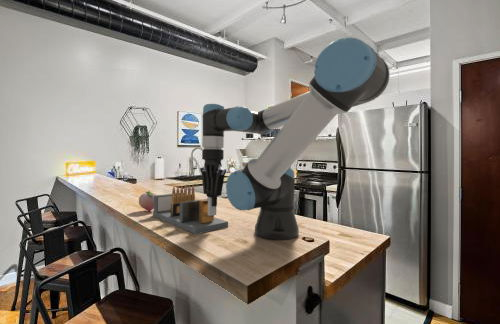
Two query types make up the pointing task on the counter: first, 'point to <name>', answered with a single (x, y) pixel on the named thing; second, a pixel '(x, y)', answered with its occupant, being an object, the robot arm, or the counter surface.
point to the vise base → (164, 213)
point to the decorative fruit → (147, 201)
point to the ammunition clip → (181, 199)
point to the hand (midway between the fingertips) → (211, 214)
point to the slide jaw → (195, 211)
